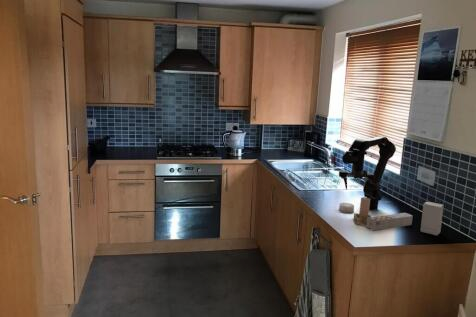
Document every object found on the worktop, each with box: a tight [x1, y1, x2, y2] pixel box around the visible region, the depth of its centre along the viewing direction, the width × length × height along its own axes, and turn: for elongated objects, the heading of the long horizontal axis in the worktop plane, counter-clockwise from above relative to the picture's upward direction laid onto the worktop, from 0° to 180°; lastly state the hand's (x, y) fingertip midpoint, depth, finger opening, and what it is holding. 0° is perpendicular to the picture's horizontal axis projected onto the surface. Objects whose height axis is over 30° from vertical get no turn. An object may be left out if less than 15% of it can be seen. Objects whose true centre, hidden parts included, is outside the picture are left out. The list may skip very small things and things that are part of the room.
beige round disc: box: [338, 202, 355, 214], centre depth 231 cm, size 8×8×4 cm
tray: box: [353, 212, 372, 226], centre depth 214 cm, size 9×9×3 cm
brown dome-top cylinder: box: [358, 196, 370, 219], centre depth 213 cm, size 5×5×12 cm
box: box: [365, 212, 414, 231], centre depth 210 cm, size 27×5×6 cm, turn 117°
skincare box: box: [420, 201, 444, 236], centre depth 204 cm, size 8×6×15 cm
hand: (354, 190), depth 226 cm, fingers open, 9 cm apart
